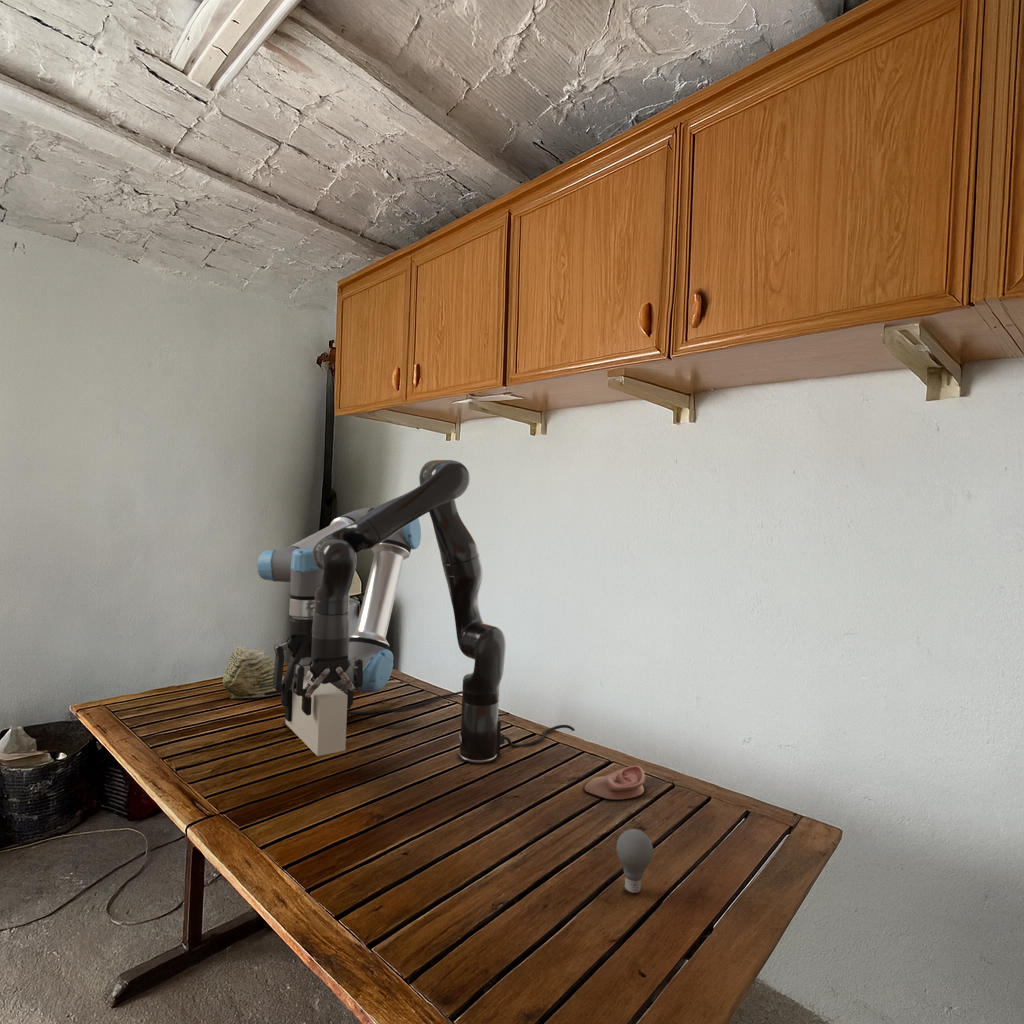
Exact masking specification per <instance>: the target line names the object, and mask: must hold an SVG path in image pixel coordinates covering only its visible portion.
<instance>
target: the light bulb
mask: <svg viewBox="0 0 1024 1024" xmlns="http://www.w3.org/2000/svg"><path fill="white" fill-rule="evenodd" d="M615 849H616V854H617V857H618V859H619V861H620V863H621V865H622V867H623V873H624V874H623V875H624V876H625V878H624V888H625V890H627V891H628V892H630V893H634V894H635V893H639V892H640V891H641V889H642V887H641V886H642V879H643V877H644V875H645V871H646V868H647V867H648V866H649V864H650V863H651V861H652V859H653V855H654V847H653V843H652V841H651V838H649V836H648V835H647V834H646V833H645V832H643V831H642V830H641V829H636V828H629V829H627V830H625V831H623V832H622V833H621V834H620V835H619V837H618V839H617V841H616V847H615Z"/></svg>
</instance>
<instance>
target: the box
mask: <svg viewBox="0 0 1024 1024" xmlns="http://www.w3.org/2000/svg"><path fill="white" fill-rule="evenodd" d="M311 675H312V673H311V672H310V671H308V672H307V674H306V675H305V676H304V681H303V688H304V687H305V686H306V684H307V681H308V680H309V678H310V677H311ZM293 682H294V678H293V681H292V684H291V687H290V690H291V691H292V692H293ZM347 696H348V695H346V694H345V693H344V691H342V689H338V688H337V687H335V686H334V685H332V684H331V683H327V684H322V683H321V684H320V685H319V687H318V688H317V689H315V691H314V692H313V694H312V695H311V696H310V697H311V698H312V703H311V715H308V716H307V715H306V714H305V713H304V712H303V711H302V696H297V695H296V694H295V693H294V692H293V695H292V721H287V720H286V719H285V718H284V719H285V721H284V723H285V724H284V725H285V726H286V725H287V726H288V727H289V728H290V729H289V728H288V727H287V726H286V727H287V728H288V729H289V730H291V731H292V732H293V733H294V734H295V735H296V736H297V737H298V738H299V740H301V741H302V742H303V743H304V745H306V746H307V748H309V750H311V752H312V753H313V754H314V755H316V757H322V756H325V755H330V754H334V753H340V752H345V751H346V749H347V748H346V745H347V744H346V743H347V723H348V721H347V719H348V714H347V711H348V709H347Z"/></svg>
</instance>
